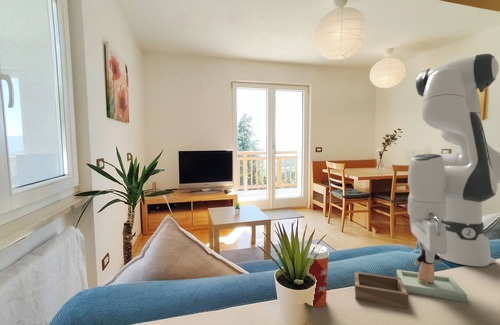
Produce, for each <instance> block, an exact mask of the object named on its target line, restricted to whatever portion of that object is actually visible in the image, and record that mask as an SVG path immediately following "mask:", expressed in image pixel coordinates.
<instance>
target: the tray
mask: <svg viewBox="0 0 500 325" xmlns="http://www.w3.org/2000/svg"><path fill="white" fill-rule="evenodd" d="M418 274H419V271H411V270H410V271H409V270H403V269H396V278H401V280H402V282H403V285H404V287H405V289H406V291H407V293H408V294H413V295H414V294H415V295H420V296H421V295H422V296H427V297H431V298H432V297H434V298H440V299H445V300H450V301H451V300H452V301H457V302H464V303H467V301H468V299H467V297H468V296H467V293H466V292H465V291H464V289H462V288H461V286H460V285H459V284H458V283H457V282H456V281H455V279H453V277H452V276H449V275H448V276H447V275H439V274H434V283H429V282H427V281H426V284H420V283H419V282H418V280H417V277H418Z"/></svg>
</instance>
